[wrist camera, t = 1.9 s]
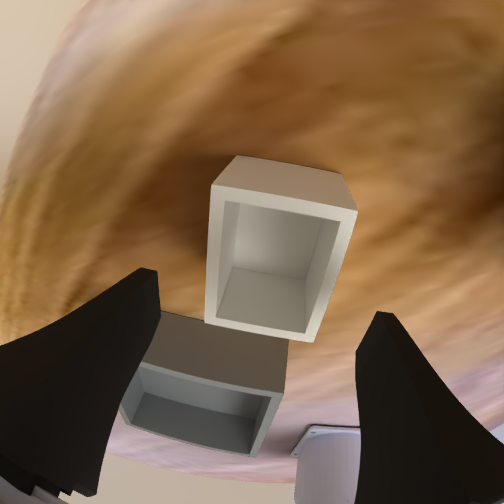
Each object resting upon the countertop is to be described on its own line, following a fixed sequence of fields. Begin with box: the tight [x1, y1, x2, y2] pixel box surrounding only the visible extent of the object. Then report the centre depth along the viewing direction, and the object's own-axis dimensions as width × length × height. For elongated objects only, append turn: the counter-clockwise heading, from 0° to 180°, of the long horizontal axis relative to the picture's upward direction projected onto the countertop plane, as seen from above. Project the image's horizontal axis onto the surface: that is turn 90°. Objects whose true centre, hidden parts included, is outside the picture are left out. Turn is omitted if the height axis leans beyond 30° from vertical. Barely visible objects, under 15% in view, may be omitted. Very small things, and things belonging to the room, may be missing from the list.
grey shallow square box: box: [119, 311, 289, 457], centre depth 21 cm, size 12×12×4 cm
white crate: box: [204, 155, 358, 343], centre depth 13 cm, size 6×5×4 cm
